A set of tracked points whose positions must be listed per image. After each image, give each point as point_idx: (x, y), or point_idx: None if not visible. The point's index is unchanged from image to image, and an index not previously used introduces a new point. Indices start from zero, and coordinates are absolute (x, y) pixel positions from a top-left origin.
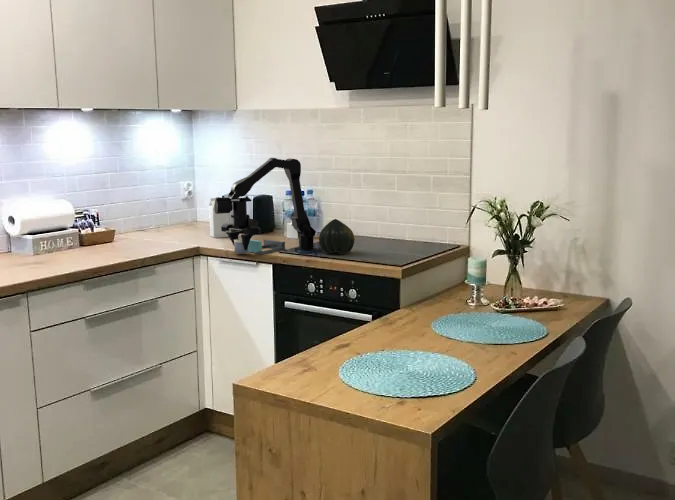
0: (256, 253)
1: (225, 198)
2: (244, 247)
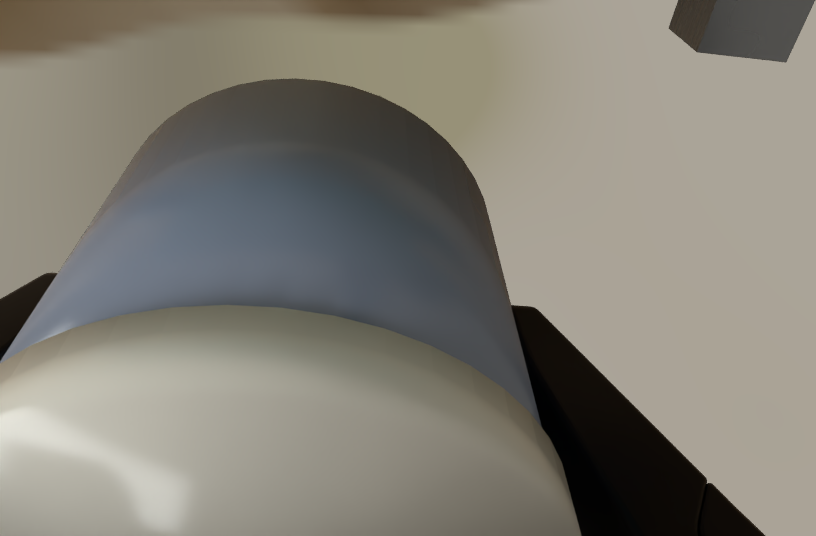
0: (722, 41)
1: None
2: None
